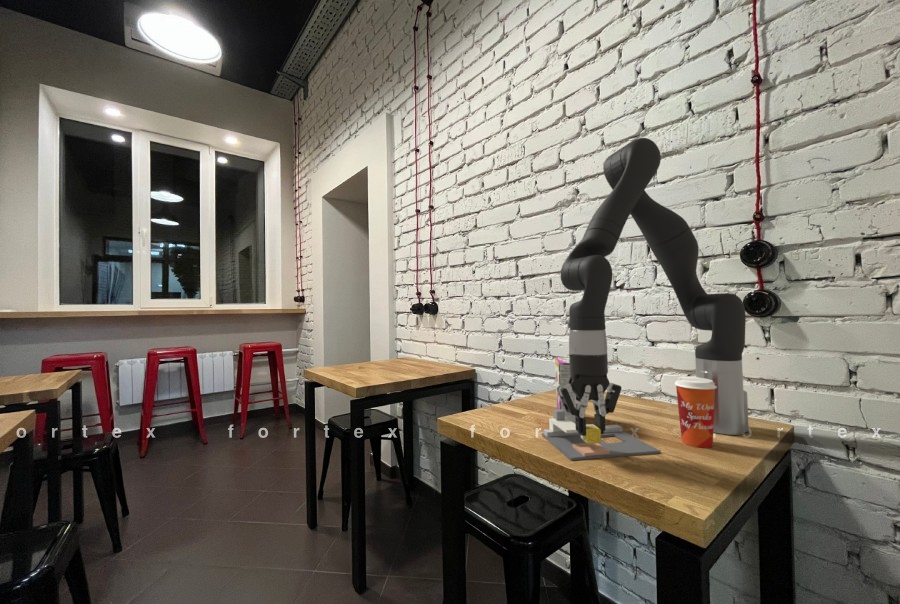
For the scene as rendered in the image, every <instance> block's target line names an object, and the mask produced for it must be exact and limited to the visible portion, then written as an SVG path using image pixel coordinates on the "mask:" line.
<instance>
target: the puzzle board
mask: <svg viewBox="0 0 900 604" xmlns="http://www.w3.org/2000/svg"><path fill="white" fill-rule="evenodd" d="M605 428H606V429H605V431H604V433H603V434H601V438H607V437H609V438H610V437H614V438H617V439H618V440H620V441H619V442H605V441H604V440H602V439H601V443H586V442H585V441H584V440H583V439H582V438H581V435H580V434H579V433H578V432H575V433H566V432H564V431H558V432H553V431H551V430H550V428H549V429H543V432H541V436H542V437H543V438H544V439H545V440H547V441H548V442H549V443H550V444H551V445H552V446H554V447H555V448H556V449H557V450H559V452H561V453H562V454H563V455H564V456H566V457H567V458H568V460H570V461H579V460H592V459H602V458H603V459H604V458H605V459H606V458H617V457H629V456H639V455H640V456H641V455H651V454H652V455H654V454H660V453H661V450H659V449H657V448H656V447H654V446H652V445H650V444H648V443H646V442H644V441H643V440H641V439H639V438H637V437H636V436H634V435H631V434H630V433H628V432H626V431H624V430H623V426H621V425H620V424H609V425H607V424H605Z"/></svg>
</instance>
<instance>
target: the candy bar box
mask: <svg viewBox="0 0 900 604" xmlns="http://www.w3.org/2000/svg"><path fill="white" fill-rule="evenodd" d="M554 369H555V394H556V409H561V410H563V411H565V418H567V419H569V420H570V421H572V422H573V423H575V415H572V414H570V413H568V412H567V411H566V410H565V407H564V405H563V403H562V400H561V398H560V396H559V393H558V391H557V387H558V386H561V387H562V386H564V385H566V384H568V383H569V380H570V376H571V375H570V363H569V357H563V356H561V357H555V358H554ZM570 397H571V400H572V402H573V404H574V406H575V403H574V398H575V393H574V392H573V390H572V389H571V395H570Z"/></svg>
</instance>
